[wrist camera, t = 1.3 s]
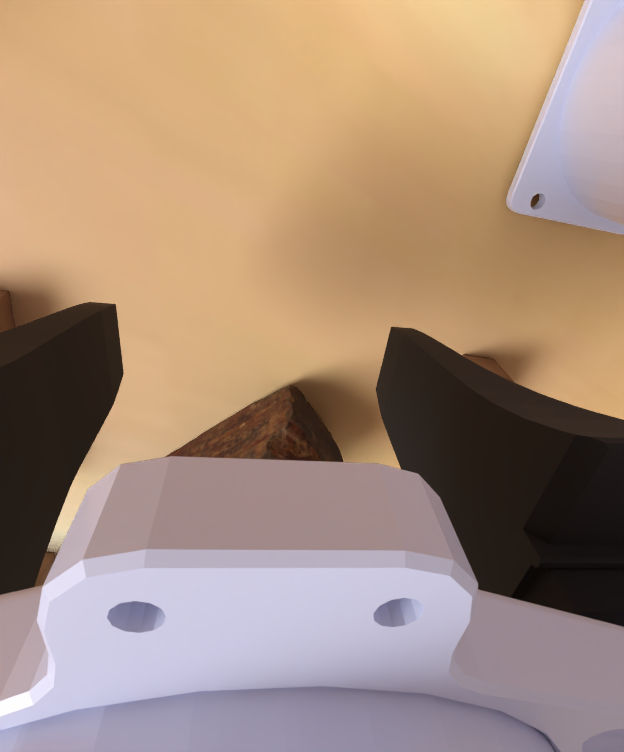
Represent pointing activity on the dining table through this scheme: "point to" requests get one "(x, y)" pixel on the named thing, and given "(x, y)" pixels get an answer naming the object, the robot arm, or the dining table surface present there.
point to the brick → (268, 433)
